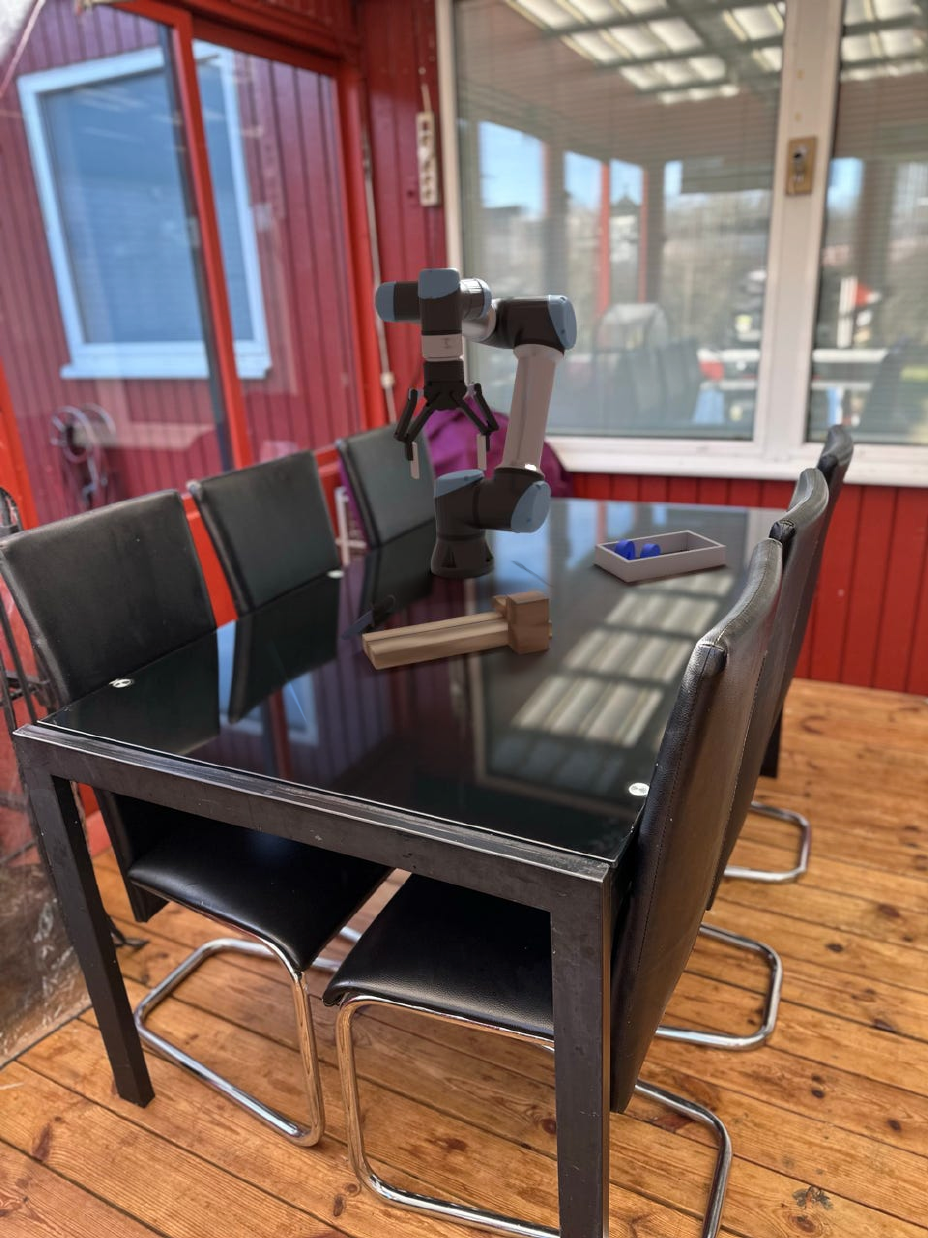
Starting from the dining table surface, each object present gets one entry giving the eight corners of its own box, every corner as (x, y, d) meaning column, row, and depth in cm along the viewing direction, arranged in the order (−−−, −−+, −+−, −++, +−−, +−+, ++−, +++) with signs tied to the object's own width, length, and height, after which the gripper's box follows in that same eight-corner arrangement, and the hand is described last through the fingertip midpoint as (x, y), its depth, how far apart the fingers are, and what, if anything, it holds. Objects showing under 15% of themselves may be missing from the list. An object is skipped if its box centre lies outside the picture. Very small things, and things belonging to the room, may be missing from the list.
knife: (387, 611, 184) (385, 588, 183) (397, 612, 184) (396, 589, 182) (335, 652, 163) (333, 626, 161) (347, 653, 162) (345, 627, 160)
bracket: (647, 588, 196) (648, 549, 193) (613, 582, 201) (613, 544, 198) (679, 564, 210) (681, 528, 206) (647, 559, 214) (648, 523, 211)
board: (363, 649, 165) (361, 634, 164) (530, 619, 175) (530, 604, 174) (376, 669, 156) (375, 653, 155) (551, 636, 166) (551, 621, 165)
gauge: (484, 623, 175) (482, 575, 171) (512, 618, 176) (511, 570, 173) (519, 655, 159) (517, 603, 156) (549, 649, 161) (548, 598, 157)
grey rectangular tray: (594, 563, 206) (594, 544, 204) (687, 548, 213) (688, 530, 212) (627, 582, 193) (627, 562, 191) (724, 565, 200) (726, 546, 199)
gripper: (382, 365, 155) (391, 484, 163) (513, 354, 163) (516, 469, 170) (371, 362, 162) (381, 476, 170) (498, 351, 169) (502, 462, 177)
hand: (449, 473), depth 170 cm, fingers open, 13 cm apart
